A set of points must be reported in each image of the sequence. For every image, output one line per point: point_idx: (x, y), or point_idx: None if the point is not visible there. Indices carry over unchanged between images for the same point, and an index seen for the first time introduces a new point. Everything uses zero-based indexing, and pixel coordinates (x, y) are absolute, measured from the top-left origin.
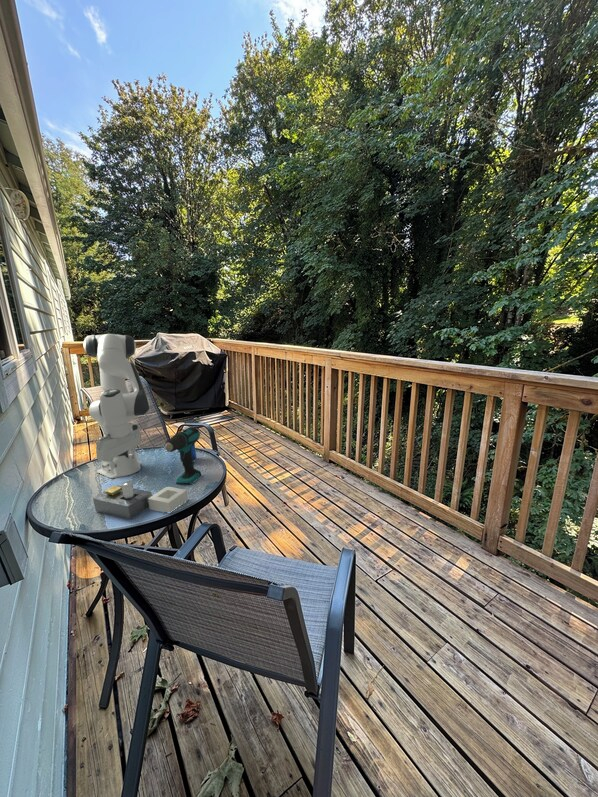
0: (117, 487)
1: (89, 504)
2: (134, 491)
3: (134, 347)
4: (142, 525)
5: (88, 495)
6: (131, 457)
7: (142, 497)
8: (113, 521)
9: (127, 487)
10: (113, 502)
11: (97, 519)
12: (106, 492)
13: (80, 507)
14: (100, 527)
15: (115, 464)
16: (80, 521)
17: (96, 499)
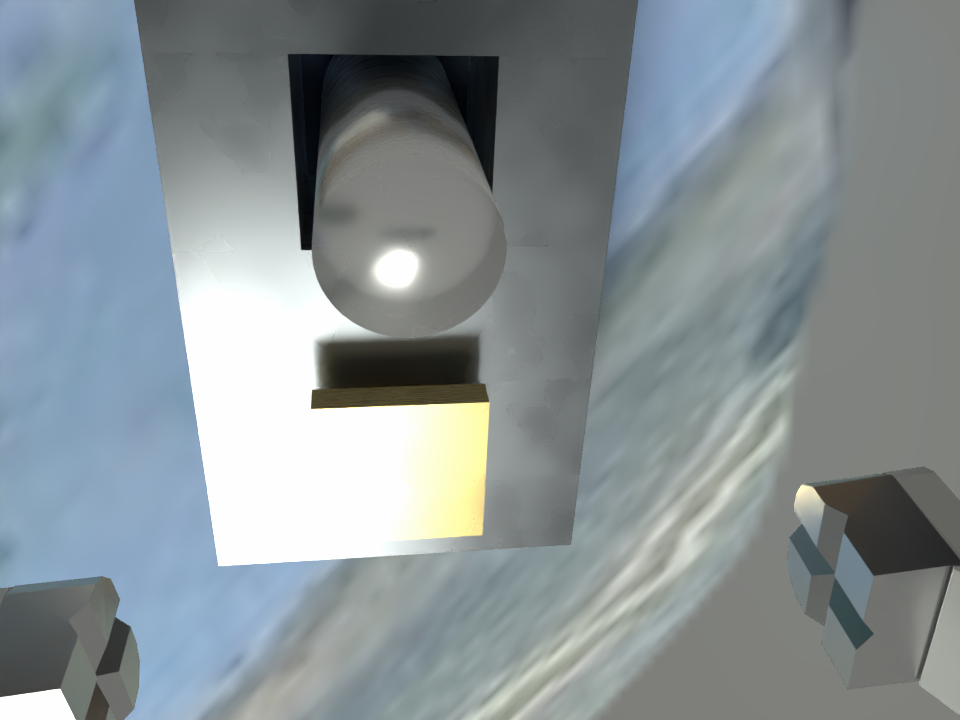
0: (343, 462)
1: (457, 589)
2: (245, 211)
3: None
4: None
5: (339, 717)
6: (85, 627)
7: None
8: (660, 92)
9: (469, 166)
10: (597, 239)
11: (659, 299)
12: (482, 488)
13: (521, 609)
14: (785, 134)
15: (911, 546)
16: (716, 416)
17: (575, 495)
